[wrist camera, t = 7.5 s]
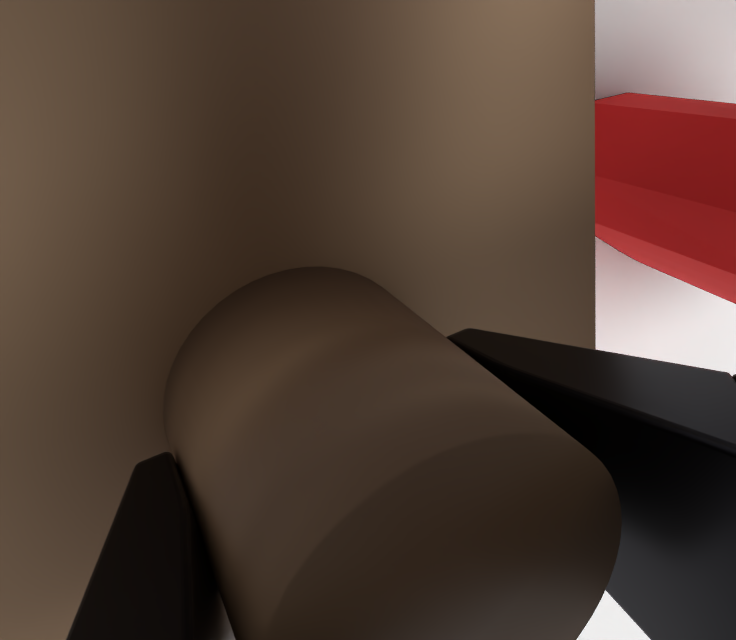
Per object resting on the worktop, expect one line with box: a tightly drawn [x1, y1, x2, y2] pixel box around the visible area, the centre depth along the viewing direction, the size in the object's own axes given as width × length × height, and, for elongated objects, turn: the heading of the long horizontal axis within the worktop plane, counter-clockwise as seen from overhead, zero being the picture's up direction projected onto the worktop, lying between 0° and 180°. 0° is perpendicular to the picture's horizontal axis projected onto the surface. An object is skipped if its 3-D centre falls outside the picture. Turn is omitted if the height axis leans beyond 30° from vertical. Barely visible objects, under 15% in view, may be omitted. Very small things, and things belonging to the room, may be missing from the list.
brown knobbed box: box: [0, 0, 622, 640], centre depth 9 cm, size 10×10×10 cm
